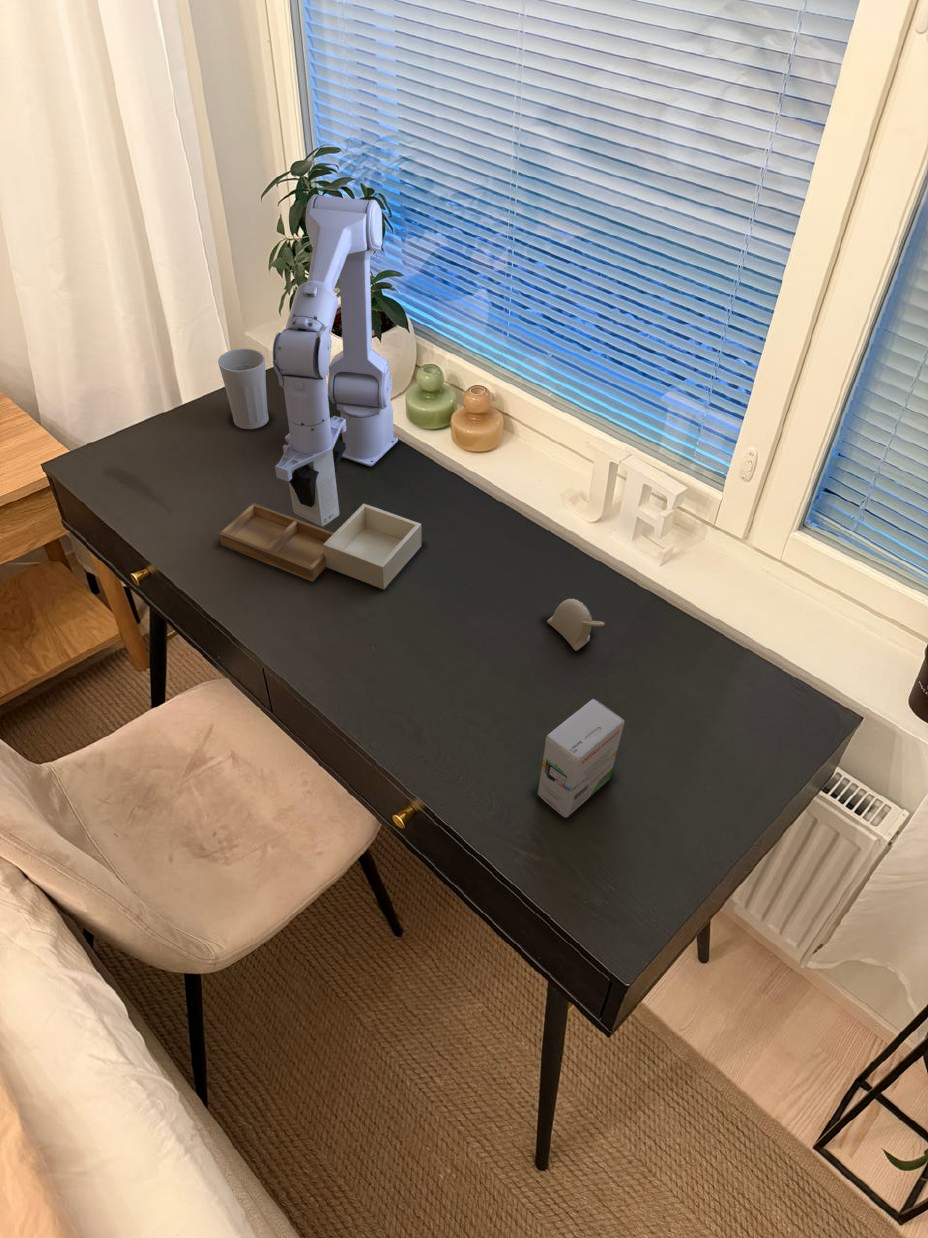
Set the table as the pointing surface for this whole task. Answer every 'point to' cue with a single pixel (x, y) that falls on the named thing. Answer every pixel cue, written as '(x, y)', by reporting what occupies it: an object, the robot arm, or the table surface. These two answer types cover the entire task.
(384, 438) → the robot arm
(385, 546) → the basin
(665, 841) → the table surface
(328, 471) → the cosmetic box
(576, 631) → the decorative ornament
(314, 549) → the tray
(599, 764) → the ink box
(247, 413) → the cup
